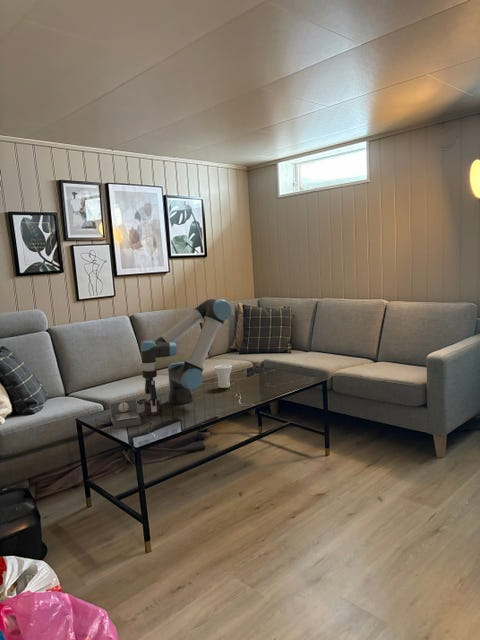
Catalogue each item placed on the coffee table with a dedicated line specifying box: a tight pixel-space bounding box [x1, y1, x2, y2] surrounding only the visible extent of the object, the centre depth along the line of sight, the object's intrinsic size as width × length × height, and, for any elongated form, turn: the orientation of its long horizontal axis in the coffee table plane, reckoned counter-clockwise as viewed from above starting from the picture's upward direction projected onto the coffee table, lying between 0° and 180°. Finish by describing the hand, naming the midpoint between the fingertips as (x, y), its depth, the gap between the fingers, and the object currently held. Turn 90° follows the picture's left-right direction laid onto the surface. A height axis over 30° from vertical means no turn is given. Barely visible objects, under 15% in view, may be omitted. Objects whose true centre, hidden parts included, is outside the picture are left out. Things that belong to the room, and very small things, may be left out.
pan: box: [115, 412, 137, 421], centre depth 242 cm, size 10×9×1 cm
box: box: [143, 399, 161, 417], centre depth 256 cm, size 6×6×7 cm
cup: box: [214, 364, 233, 389], centre depth 305 cm, size 11×11×14 cm
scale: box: [109, 398, 142, 429], centre depth 243 cm, size 13×14×10 cm
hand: (151, 408), depth 256 cm, fingers open, 13 cm apart
